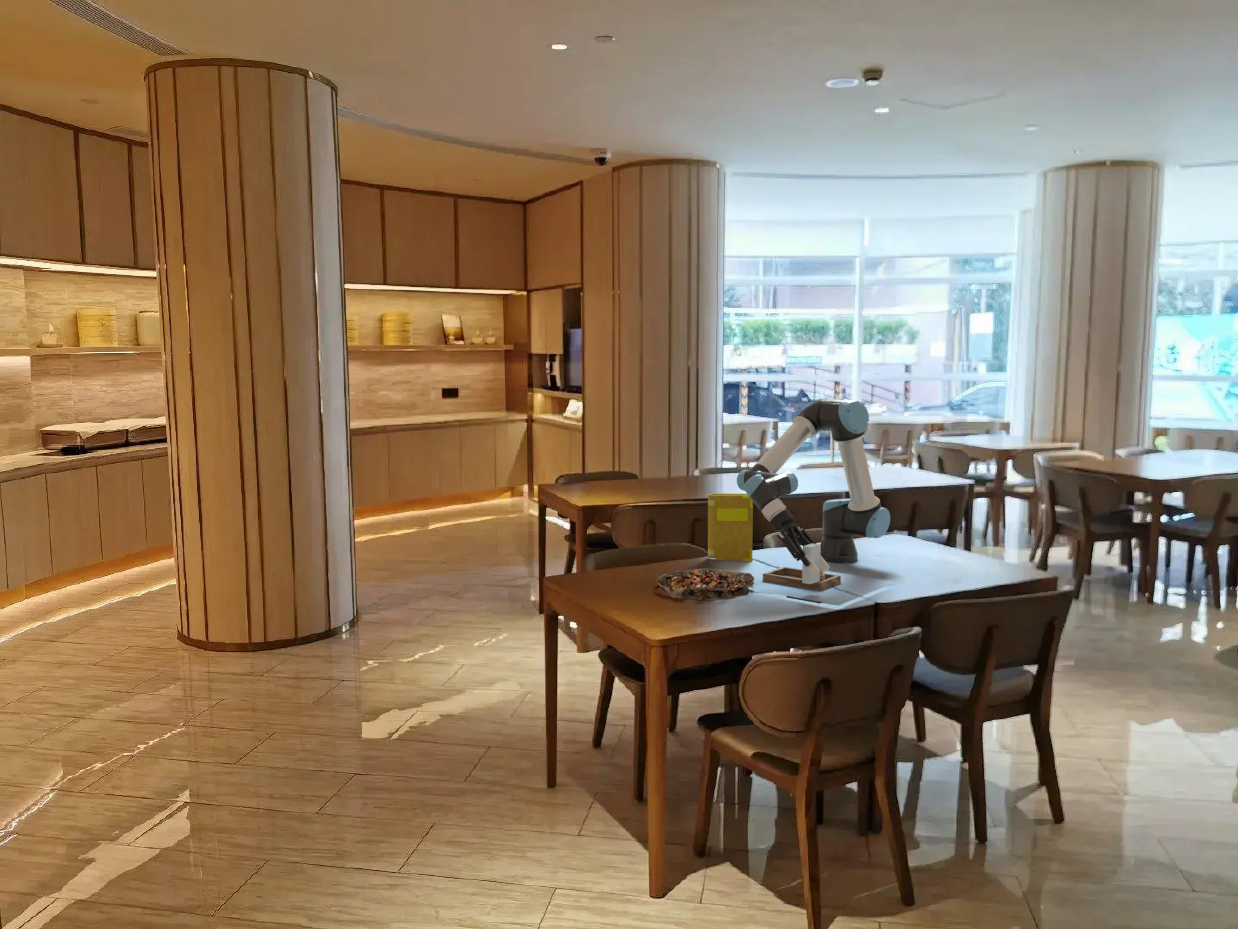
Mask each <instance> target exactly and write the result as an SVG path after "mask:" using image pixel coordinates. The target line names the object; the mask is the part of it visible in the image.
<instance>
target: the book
mask: <svg viewBox="0 0 1238 929" xmlns="http://www.w3.org/2000/svg"><path fill="white" fill-rule="evenodd" d="M753 514H754V502H753V501H752V500H751V498H750V497H749V496H748V494H747V493H708V494H707V559H708V558H716V559H718V560H717V561H742V562H753V538H754V537H753V526H754V524H753V522H754V515H753Z"/></svg>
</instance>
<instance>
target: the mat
mask: <svg viewBox="0 0 1238 929" xmlns="http://www.w3.org/2000/svg"><path fill="white" fill-rule="evenodd" d="M786 598H787V599H792V600H798V601H803V602H809V603H815V604H822V603H823V602H822V601H816V600H813V599H812V600H811V599H807V598H801V597H795V596H790V595H786Z"/></svg>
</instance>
